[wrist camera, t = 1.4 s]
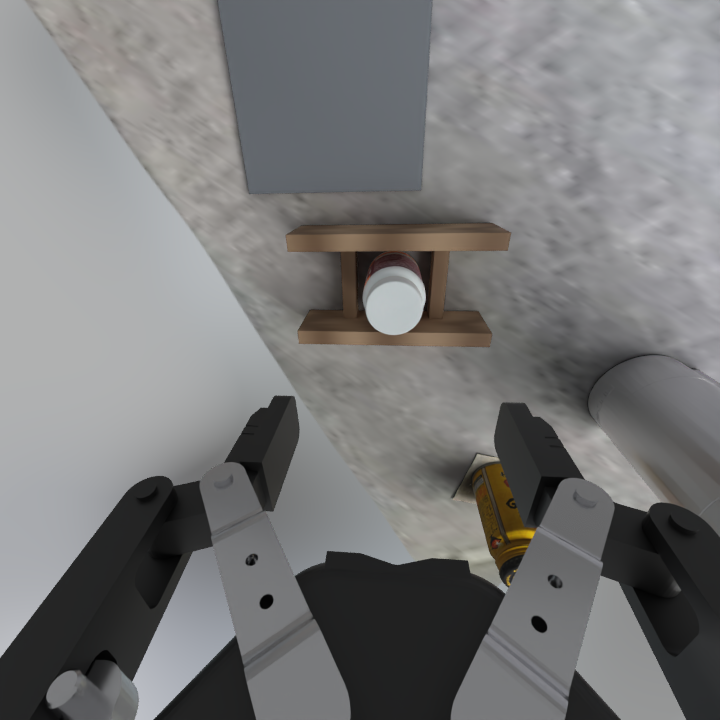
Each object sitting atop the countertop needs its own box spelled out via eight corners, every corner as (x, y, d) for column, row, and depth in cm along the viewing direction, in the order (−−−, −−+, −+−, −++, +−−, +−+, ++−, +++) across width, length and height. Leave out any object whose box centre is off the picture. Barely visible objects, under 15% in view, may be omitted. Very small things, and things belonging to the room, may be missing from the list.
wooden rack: (492, 223, 28) (511, 232, 23) (476, 323, 32) (489, 347, 28) (301, 225, 29) (285, 234, 25) (311, 321, 33) (299, 343, 29)
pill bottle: (361, 257, 30) (351, 285, 23) (414, 243, 29) (421, 267, 22) (374, 306, 32) (369, 346, 25) (424, 294, 31) (434, 332, 24)
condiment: (535, 465, 40) (586, 568, 30) (505, 509, 44) (539, 613, 34) (477, 452, 40) (507, 551, 29) (452, 497, 44) (470, 598, 34)
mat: (436, -72, 20) (437, -78, 20) (420, 190, 27) (421, 190, 26) (211, -53, 21) (208, -58, 21) (251, 193, 28) (249, 193, 28)
